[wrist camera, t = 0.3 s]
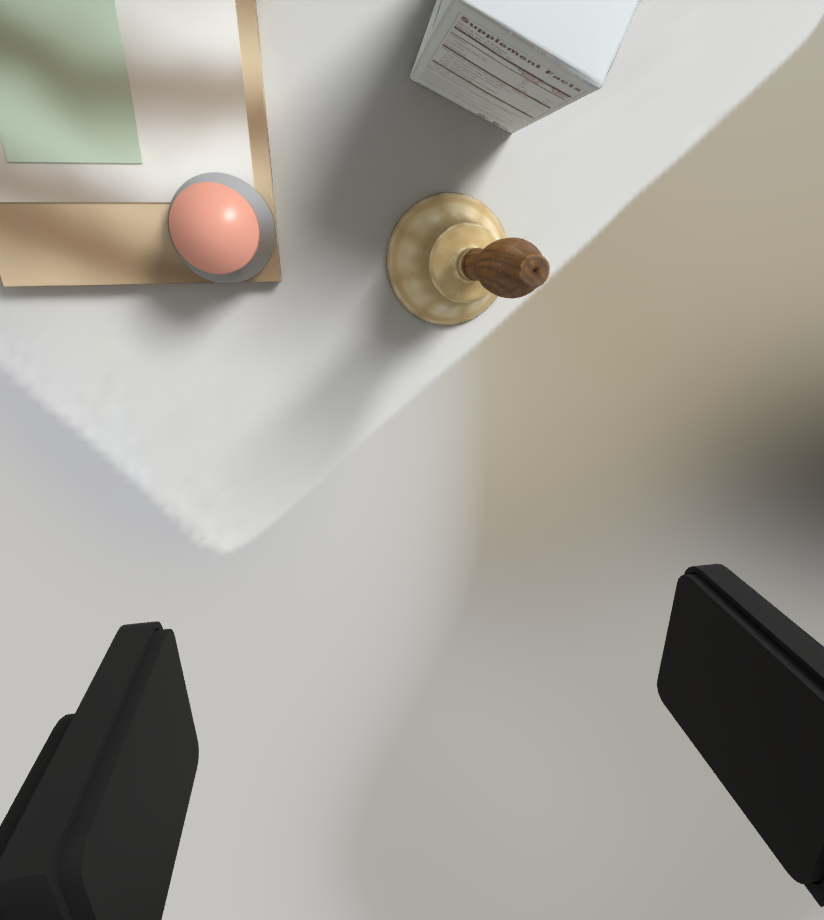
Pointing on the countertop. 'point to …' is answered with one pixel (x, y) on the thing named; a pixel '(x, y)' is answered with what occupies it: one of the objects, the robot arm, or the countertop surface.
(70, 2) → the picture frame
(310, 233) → the countertop surface
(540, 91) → the supplement box
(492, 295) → the hand bell
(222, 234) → the button
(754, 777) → the robot arm
